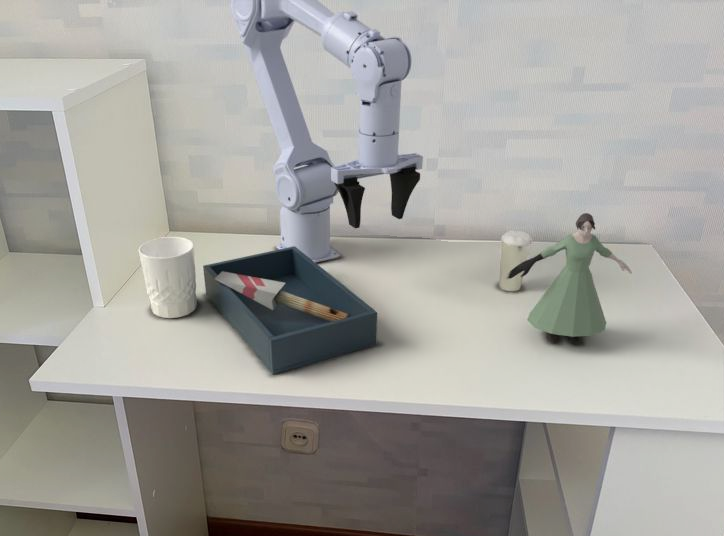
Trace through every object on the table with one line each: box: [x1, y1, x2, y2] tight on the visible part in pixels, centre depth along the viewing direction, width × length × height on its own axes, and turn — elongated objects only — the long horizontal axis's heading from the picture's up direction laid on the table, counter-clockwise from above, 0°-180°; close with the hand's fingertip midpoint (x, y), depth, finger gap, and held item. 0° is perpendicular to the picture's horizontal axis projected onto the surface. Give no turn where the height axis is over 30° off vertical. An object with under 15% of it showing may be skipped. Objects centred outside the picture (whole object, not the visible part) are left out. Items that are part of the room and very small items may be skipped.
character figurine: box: [506, 212, 632, 345], centre depth 93 cm, size 16×8×18 cm, turn 83°
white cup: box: [138, 236, 198, 319], centre depth 105 cm, size 8×8×10 cm
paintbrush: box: [215, 271, 348, 321], centre depth 102 cm, size 4×3×20 cm
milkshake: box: [498, 229, 538, 292], centre depth 108 cm, size 4×5×10 cm
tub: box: [202, 246, 378, 375], centre depth 102 cm, size 26×16×5 cm, turn 26°
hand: (375, 221), depth 108 cm, fingers open, 7 cm apart
